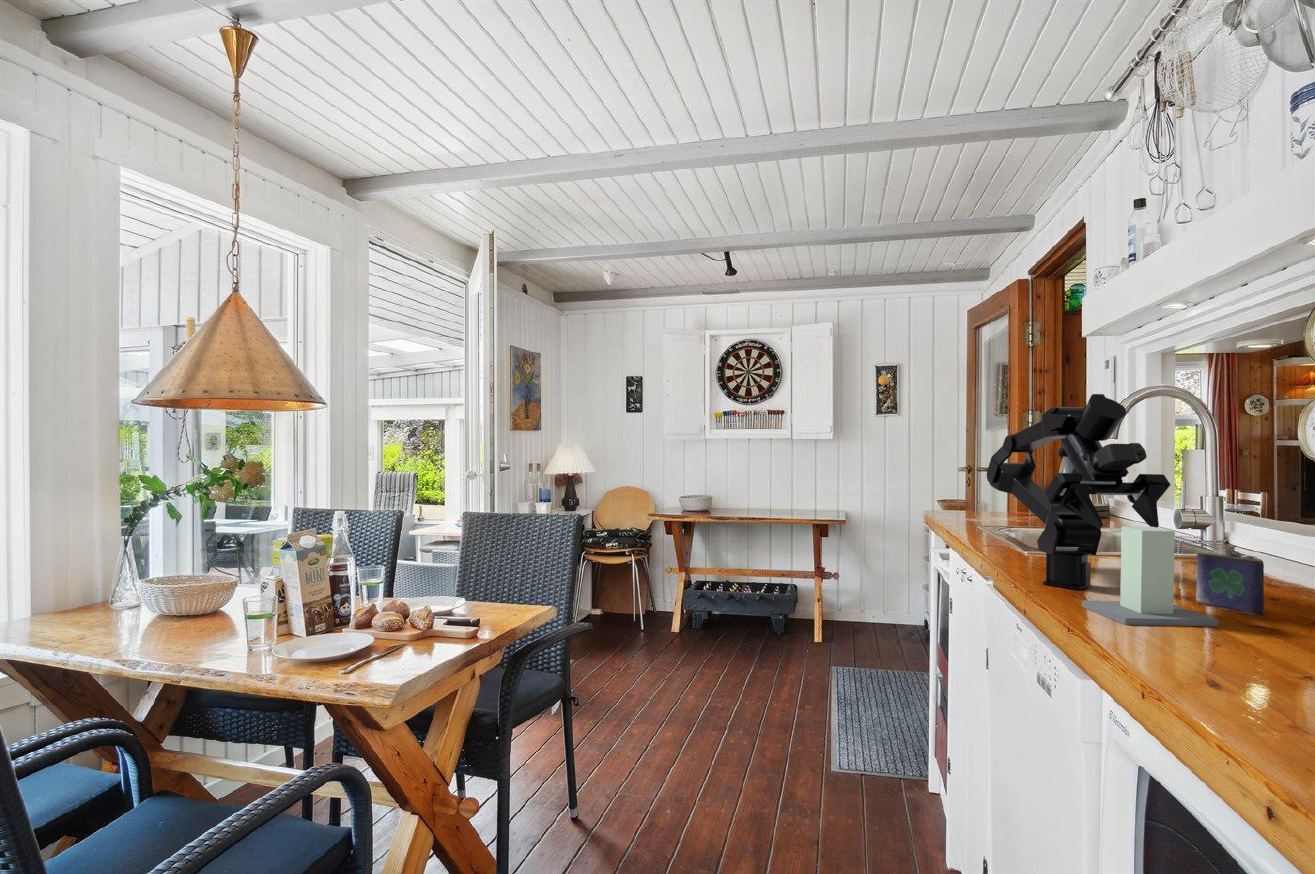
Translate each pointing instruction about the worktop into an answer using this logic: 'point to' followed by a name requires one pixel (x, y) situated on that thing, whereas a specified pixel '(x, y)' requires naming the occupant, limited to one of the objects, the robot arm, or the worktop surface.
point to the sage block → (1147, 569)
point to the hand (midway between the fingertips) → (1128, 527)
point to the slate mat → (1149, 615)
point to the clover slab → (1230, 581)
